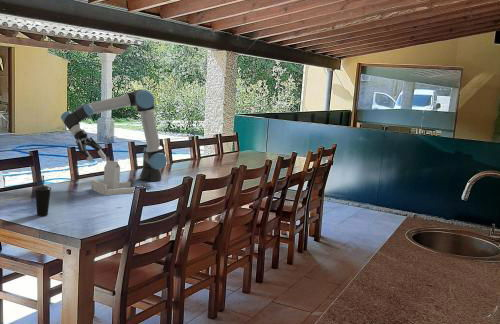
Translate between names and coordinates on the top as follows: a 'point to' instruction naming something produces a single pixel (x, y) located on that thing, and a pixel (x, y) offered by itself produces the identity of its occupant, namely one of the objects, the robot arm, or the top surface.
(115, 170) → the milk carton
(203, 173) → the top surface
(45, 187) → the drinking cup
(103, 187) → the bay
